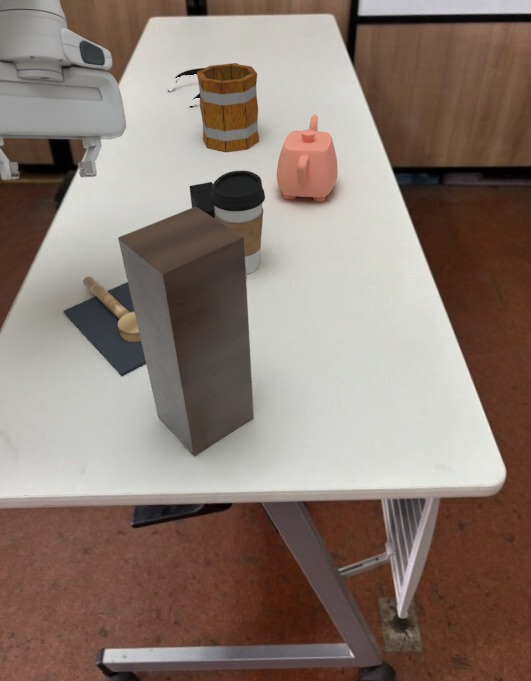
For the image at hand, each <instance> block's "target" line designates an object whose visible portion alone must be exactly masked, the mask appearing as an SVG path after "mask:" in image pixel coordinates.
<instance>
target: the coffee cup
mask: <svg viewBox="0 0 531 681" xmlns="http://www.w3.org/2000/svg"><path fill="white" fill-rule="evenodd" d="M262 182H263V181H262V178H261V177H260V175H258V174H257V173H255V172H253V171H250V170H232V171H229V172H226V173H223V174H222V175H220V176H218V177H217V178H216V179H215V180H214V182H212V183H213V189H212V193H211V203H212V204H213V205H214V208H215V210H214V215H215V219H216V220H218V221H219V222H221V223H222V224H224V225H225V226H227V227H229V228H230V229H232V230H233V231H235V232H236V233H238V234H239V235H241V236H243V237H244V248H245V267H246V275H249V274H252V273H254V272H256V271H257V270H258V269H259V267H260V260H261V247H262V234H263V221H264V208H263V203H264V202H265V200H266V194H265V190H264V187H263V183H262Z"/></svg>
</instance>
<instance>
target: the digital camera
mask: <svg viewBox="0 0 531 681" xmlns="http://www.w3.org/2000/svg"><path fill="white" fill-rule="evenodd" d="M213 183H214V182H212V181H208V182H203V183H197V184H193V185H189V195H190V202H191V203H190V204H191V208H193V207H197V208H199V209H200V210H202V211H204V212H205V213H207V214H208V215H210V216H211V217H213V218H215V215H214V210H215V208H214V205H213V204H212V203H211V193H212V189H213Z"/></svg>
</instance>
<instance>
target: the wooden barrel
mask: <svg viewBox="0 0 531 681" xmlns="http://www.w3.org/2000/svg"><path fill="white" fill-rule="evenodd" d="M203 68H204V69H202V70H200V71H198V72H197V74H196V76H197V81H198V89H199V93H200V100H199V110H200V114H201V120H202V141H203V143H204V145H205V147H206V149H211V150H214V151H218V152H224V153H230V152H237V151H245V150H250V148H252V147H253V146H255V145H256V144H258V143H259V142H260V136H259V129H258V128H259V127H258V124H259V123H258V118H259V104H258V103H259V102H258V96H257V95H258V94H257V82H258V81H257V80H258V73H257V71H256V70H255V69H254V68H253V66H251V65H245V64H239V63H236V62H234V63H224V64H214V65H209V66H207V67H203Z"/></svg>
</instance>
